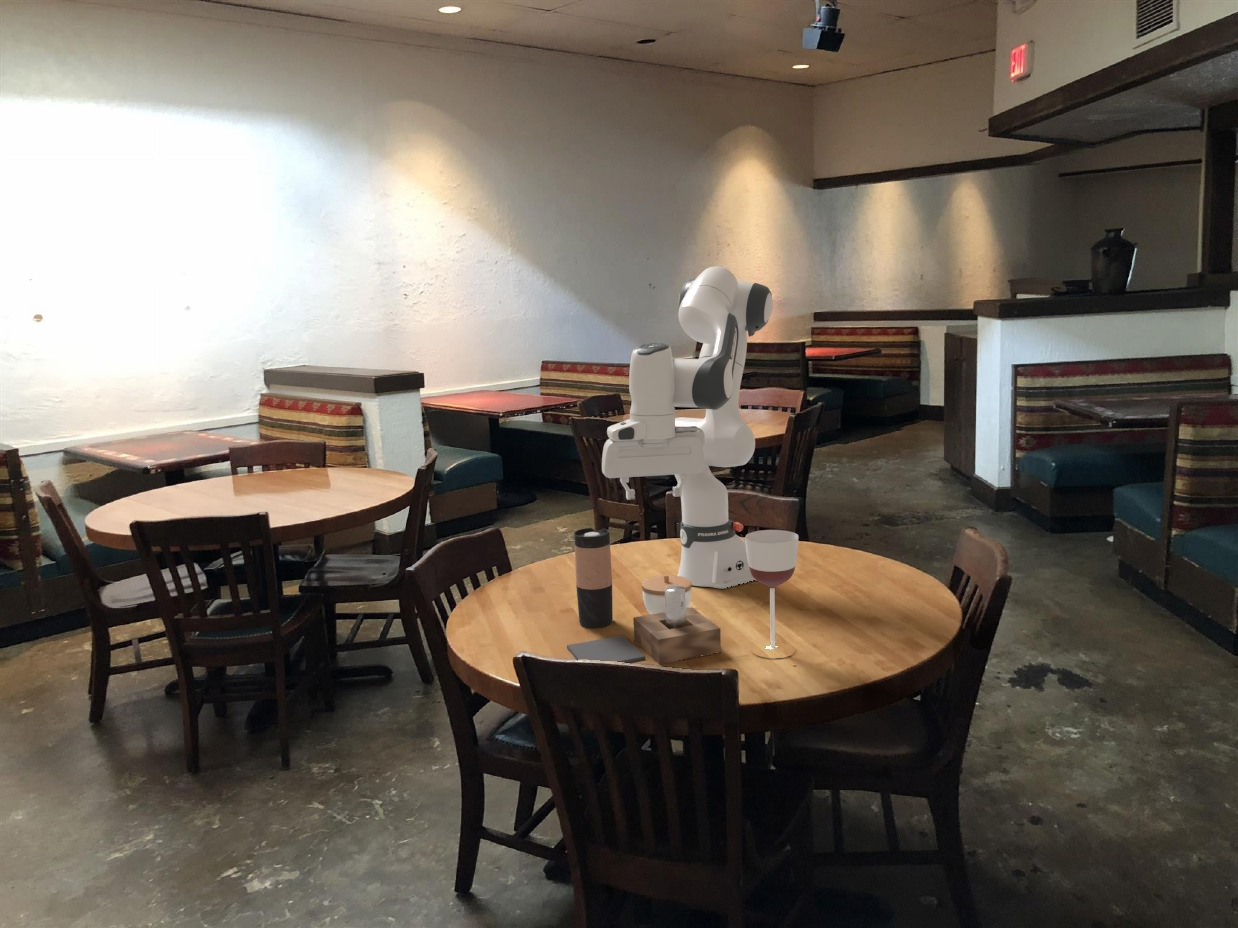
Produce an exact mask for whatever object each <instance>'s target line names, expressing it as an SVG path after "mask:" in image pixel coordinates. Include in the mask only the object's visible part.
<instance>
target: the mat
mask: <svg viewBox="0 0 1238 928" xmlns="http://www.w3.org/2000/svg"><path fill="white" fill-rule="evenodd" d="M566 649H567V650H568V651H569V652H570V654H572V656H573V657H574V658H575V660H577V659H588V660H600V661H617V662H628V663H632V662H637V661H642V660H646V656H645V655H644V654H643V653H642V652H641V651H640V650H639V649H638V648H637V647H636V646H635V645H634V644H633V643H632V642H630V640H628V639H627V638H626V637H625V636H624V634H622V635H616V636H612V637H606V638H599V639H594V640H589V641H583V642H576V643H572V644H567V645H566Z"/></svg>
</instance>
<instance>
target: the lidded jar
mask: <svg viewBox="0 0 1238 928" xmlns="http://www.w3.org/2000/svg"><path fill="white" fill-rule="evenodd" d="M669 586H682V587H684V588H685V602H686V608H690V606H691V605H690V604H691V600H692V586H693V585H692V583H691V581H690V580H689V579H687V578H685V577H681V576H677V575H674V574H673V575H672V574H671V575H670V574H663V575H656V576H651V577H648V578H646V579H644V580H643V581H642V582H641V589H642V593H641V594H642V599H643V600H642V601H643V604H644V607H645V609H646V611H647V613H648V614H649V615H651V614H657V613H662V612H665V588H666V587H669Z"/></svg>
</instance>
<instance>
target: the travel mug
mask: <svg viewBox="0 0 1238 928" xmlns="http://www.w3.org/2000/svg"><path fill="white" fill-rule="evenodd" d="M573 535H574V537H573V538H574V542H573V543H574V563H575V565H574V566H575V584H576V585H575V586H576V597H577V598H576V599H577V609H578V620H579V624H580V626H582V627H583V628H588V629H600V628H605V627H609V626H610V625H611V624H612V623H613V618H614V617H613V575H612V574H613V571H612V558H611V556H612V555H611V540H610V539H611V538H610V537H611V536H610V530H608V529H607V528H602V529H599V530H597V529H594V528H591V527H586V528H580V529H578V530H575V532H574V534H573Z"/></svg>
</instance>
